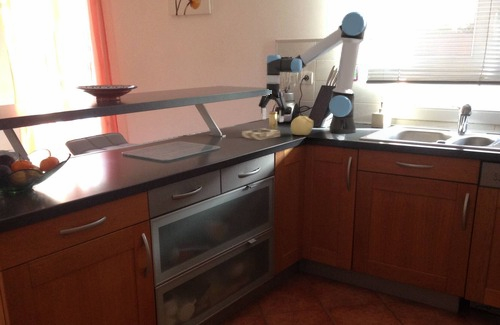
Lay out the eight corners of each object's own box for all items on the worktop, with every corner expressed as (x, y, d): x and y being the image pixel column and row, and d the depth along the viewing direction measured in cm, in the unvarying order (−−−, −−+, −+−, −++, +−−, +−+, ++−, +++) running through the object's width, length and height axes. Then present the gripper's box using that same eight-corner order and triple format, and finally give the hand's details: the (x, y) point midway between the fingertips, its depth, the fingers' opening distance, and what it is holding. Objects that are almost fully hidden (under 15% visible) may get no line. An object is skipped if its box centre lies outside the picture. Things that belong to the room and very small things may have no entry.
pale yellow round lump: (316, 135, 245) (316, 116, 242) (297, 137, 240) (298, 117, 237) (305, 132, 255) (305, 113, 252) (287, 134, 250) (287, 115, 247)
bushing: (279, 132, 256) (279, 111, 253) (273, 133, 253) (273, 112, 250) (272, 131, 259) (272, 111, 256) (267, 132, 256) (267, 111, 253)
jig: (280, 136, 244) (280, 130, 243) (259, 140, 233) (259, 133, 233) (262, 133, 254) (262, 127, 253) (241, 136, 243) (241, 131, 242)
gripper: (294, 83, 243) (293, 122, 248) (261, 81, 261) (261, 117, 266) (285, 84, 238) (284, 123, 243) (252, 82, 256) (252, 118, 261)
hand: (272, 120), depth 254 cm, fingers open, 13 cm apart
